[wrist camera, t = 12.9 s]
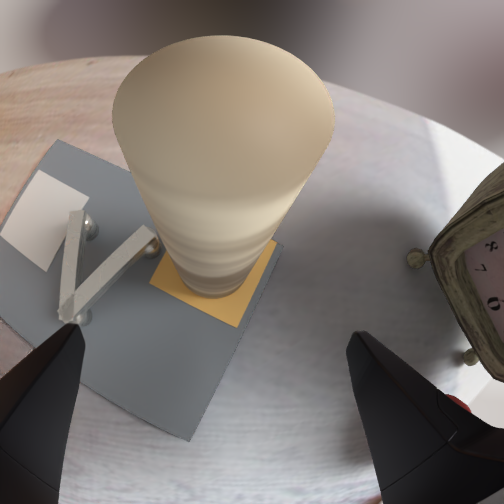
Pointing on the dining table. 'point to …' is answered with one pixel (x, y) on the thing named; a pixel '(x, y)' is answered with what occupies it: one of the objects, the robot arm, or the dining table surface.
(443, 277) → the tabletop clock
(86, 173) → the board
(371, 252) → the dining table surface
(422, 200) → the dining table surface
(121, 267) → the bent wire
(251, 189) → the peg
